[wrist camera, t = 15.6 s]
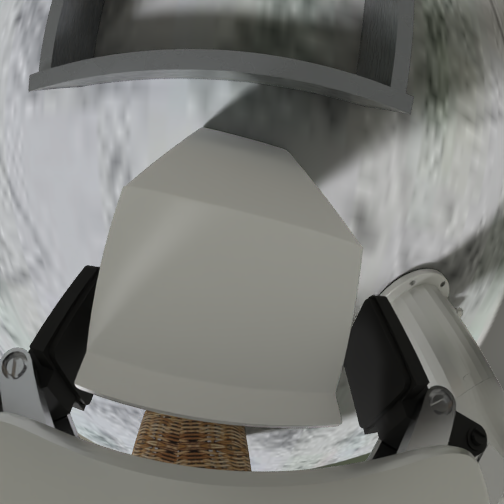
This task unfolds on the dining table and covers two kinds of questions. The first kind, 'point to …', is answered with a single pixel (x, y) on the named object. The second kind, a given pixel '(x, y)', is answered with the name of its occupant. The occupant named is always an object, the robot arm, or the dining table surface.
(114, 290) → the milk carton
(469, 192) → the dining table surface
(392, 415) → the robot arm
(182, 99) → the dining table surface
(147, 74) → the dark grey tray
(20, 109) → the dining table surface
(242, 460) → the wicker basket
